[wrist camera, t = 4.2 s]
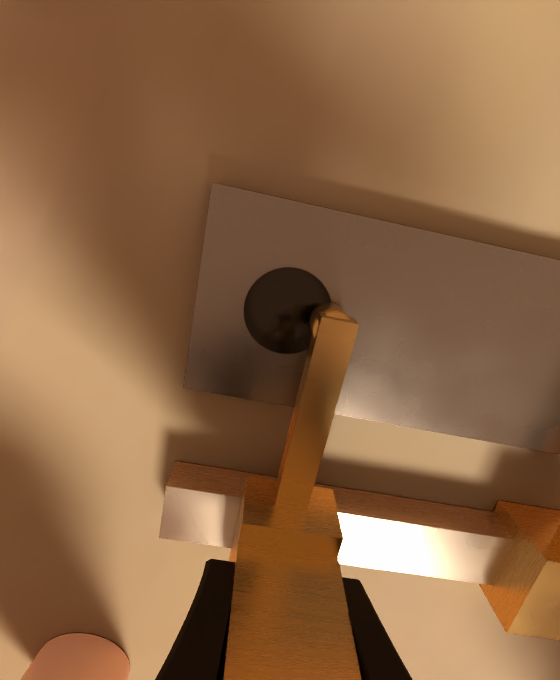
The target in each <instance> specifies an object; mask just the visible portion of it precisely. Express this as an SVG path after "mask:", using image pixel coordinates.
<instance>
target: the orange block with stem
mask: <svg viewBox="0 0 560 680" xmlns="http://www.w3.org/2000/svg"><path fill="white" fill-rule="evenodd" d="M309 325H310V328H311V331H312V337H311V341H310V346H309V350H308V354H307V358H306V362H305V366H304V370H303V374H302V378H301V382H300V386H299V390H298V395H297V399H296V403H295V407H294V411H293V415H292V419H291V423H290V427H289V431H288V435H287V439H286V444H285V448H284V452H283V456H282V460H281V464H280V468H279V472H278V476H277V480H272V479H265V478H259V477H253V476H247V478H246V482H245V487H244V492H243V496H242V501H241V506H240V510H239V515H238V520H237V524H236V529H235V534H234V538H233V543H232V548H231V552H230V557H229V561H230V562H235V569H234V583H233V595H232V600H231V605H230V610H229V615H228V621H227V626H226V631H225V636H224V641H223V646H222V651H221V656H220V662H219V667H218V672H217V677H216V680H362V679H361V674H360V669H359V664H358V658H357V653H356V648H355V643H354V638H353V633H352V627H351V622H350V619H349V615H348V607H347V602H346V596H345V591H344V586H343V581H342V576H341V571H340V565H339V560H338V554H339V551H340V548H341V545H342V542H343V539H344V538H343V533H342V529H341V524H340V520H339V515H338V511H337V506H336V502H335V497H334V493H333V489H328V488H322V487H316V486H314V483H315V480H316V476H317V473H318V469H319V466H320V462H321V459H322V455H323V452H324V448H325V445H326V441H327V438H328V434H329V431H330V427H331V423H332V420H333V416H334V413H335V409H336V406H337V402H338V399H339V395H340V392H341V388H342V385H343V381H344V378H345V374H346V371H347V367H348V364H349V360H350V356H351V353H352V349H353V346H354V342H355V339H356V335H357V332H358V328H359V323H358V322H357V321H356V320H355V319H354V317H350V316H347V315H346V313H345V312H344V311H343V310H342V308H341V307H339V306H338V305H336V304H333V303H324V304H321V305H319V306H317V307H316V308H315V309H314V310H313V311H312V313H311V315H310V318H309Z"/></svg>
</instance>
